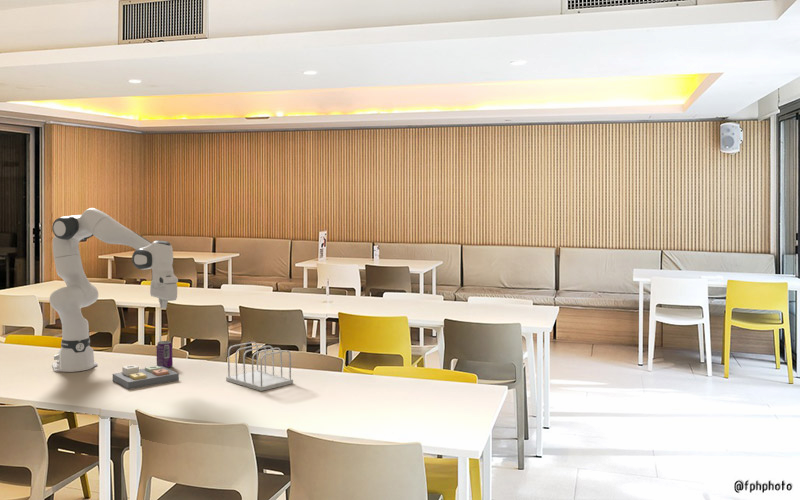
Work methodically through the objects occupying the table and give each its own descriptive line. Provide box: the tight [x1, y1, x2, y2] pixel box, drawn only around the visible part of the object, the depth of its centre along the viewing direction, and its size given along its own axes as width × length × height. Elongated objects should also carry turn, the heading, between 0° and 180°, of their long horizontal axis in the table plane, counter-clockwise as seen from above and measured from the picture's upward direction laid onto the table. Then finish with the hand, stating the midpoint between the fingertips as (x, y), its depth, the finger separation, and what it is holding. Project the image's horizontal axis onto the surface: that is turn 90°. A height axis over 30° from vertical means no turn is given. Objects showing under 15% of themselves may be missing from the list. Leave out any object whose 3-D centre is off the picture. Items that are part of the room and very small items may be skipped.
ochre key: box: [130, 373, 146, 380], centre depth 291 cm, size 5×5×3 cm
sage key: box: [144, 365, 161, 372], centre depth 303 cm, size 5×5×3 cm
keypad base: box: [112, 366, 180, 390], centre depth 297 cm, size 18×22×3 cm
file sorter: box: [225, 341, 294, 392], centre depth 296 cm, size 25×17×16 cm
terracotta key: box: [152, 369, 169, 376], centre depth 297 cm, size 5×5×3 cm
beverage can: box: [156, 340, 174, 369], centre depth 320 cm, size 7×7×12 cm
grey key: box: [121, 364, 140, 376], centre depth 296 cm, size 5×5×3 cm
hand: (163, 308), depth 299 cm, fingers closed
